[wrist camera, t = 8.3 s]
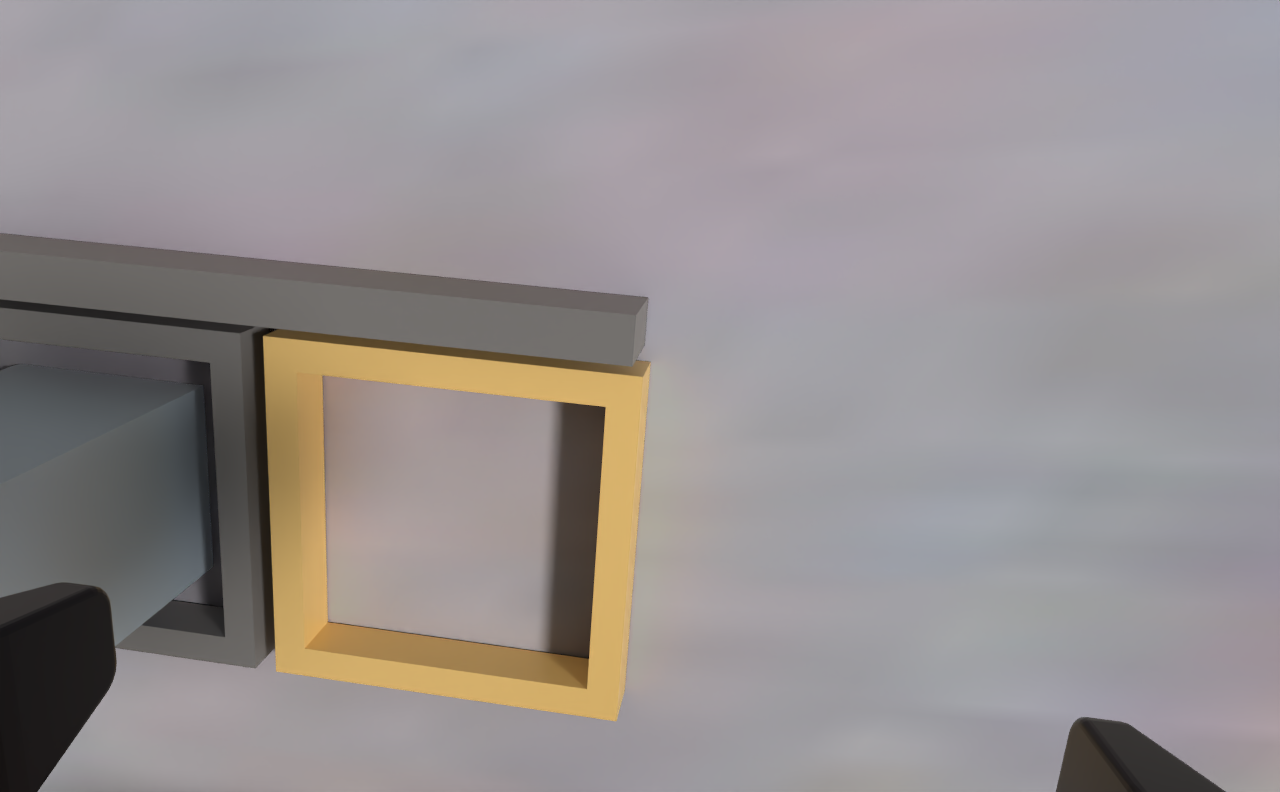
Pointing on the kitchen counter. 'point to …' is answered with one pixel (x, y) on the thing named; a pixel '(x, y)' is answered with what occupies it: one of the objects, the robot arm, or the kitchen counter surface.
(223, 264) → the cubby shelf with drawer
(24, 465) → the blue-grey box
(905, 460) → the kitchen counter surface
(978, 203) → the kitchen counter surface
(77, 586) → the robot arm
